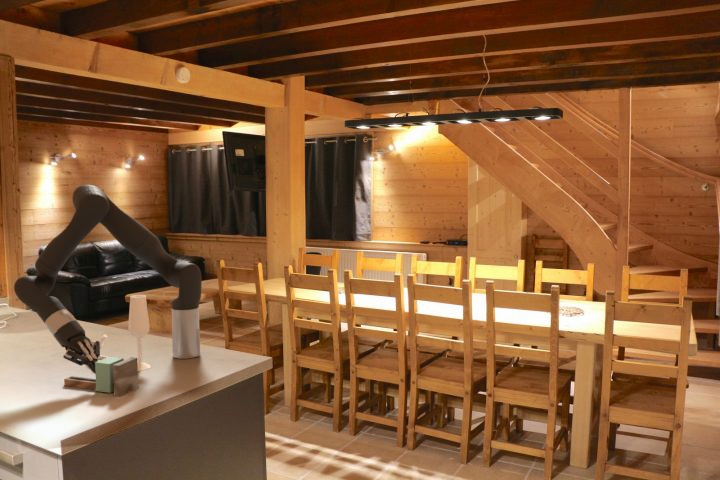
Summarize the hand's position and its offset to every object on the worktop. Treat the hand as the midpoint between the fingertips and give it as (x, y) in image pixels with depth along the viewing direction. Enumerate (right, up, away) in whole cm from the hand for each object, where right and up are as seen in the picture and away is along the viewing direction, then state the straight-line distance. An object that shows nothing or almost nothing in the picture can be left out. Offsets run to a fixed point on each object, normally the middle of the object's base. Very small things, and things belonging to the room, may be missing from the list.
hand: (99, 371), depth 172 cm
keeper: (+3, -5, 0) cm, 6 cm away
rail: (-1, -5, +1) cm, 5 cm away
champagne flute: (+4, -4, +21) cm, 22 cm away
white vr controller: (-12, -3, +26) cm, 29 cm away
